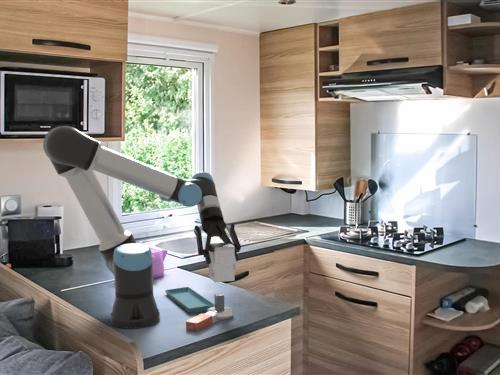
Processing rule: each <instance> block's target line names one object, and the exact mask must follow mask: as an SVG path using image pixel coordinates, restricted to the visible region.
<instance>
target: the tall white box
mask: <svg viewBox="0 0 500 375" xmlns="http://www.w3.org/2000/svg"><path fill="white" fill-rule="evenodd" d="M209 252H212V255H213V259H214V264H215V268H216V271H215V273H214V274H212V273H211V269H210V264H208V278H209V279H210V280H212V281H213V282H214V283H223V282H224V283H225V282H234V281H235V280H236V279H235V276H236V275H235V273H236V272H235V246H233V245H232V244H230V243H224V242H216V243H210V248H209Z"/></svg>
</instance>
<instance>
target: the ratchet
mask: <svg viewBox="0 0 500 375" xmlns="http://www.w3.org/2000/svg"><path fill="white" fill-rule="evenodd" d="M213 298H214V304H215V305H214V307H211V308H209V309H208V310H207V311H206V313H200V314H198V315H196V316H194V317H192V318H189V319H188V320H185V330H186V331H192V332H198V333H199V331H201V330H203V329H205V328H207V327H209V326H211V325H212V324H213V323H216V322H217V321H226V320H229V319H232V318H233V309H232V308H231V307H229V306H225V294H224V293H223V292H221V293H214V297H213Z"/></svg>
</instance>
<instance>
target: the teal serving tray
mask: <svg viewBox="0 0 500 375" xmlns="http://www.w3.org/2000/svg"><path fill="white" fill-rule="evenodd" d="M164 292H165V293H166V295H167V296H168V297H169V298H170V299H172V300H173V301H174V302H175V303H176V304H178V305H179V306H180V307H182V308H183V309H184V310H185V309H186V310H185V311H186V312H188V313H189V314H195V313H196V314H197V312H198V313H203V312H207V310H208V309H209V308H211V307H215V303H213V302H212V301H210V300H209V299H207V298H205V297H204V296H203V295H201V294H200V293H198V292H197V291H195V290H194V289H192V288H191V287H190V286H185V287H184V286H183V287H179V288H171V289H170V288H169V289H166V290H164Z"/></svg>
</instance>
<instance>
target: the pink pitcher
mask: <svg viewBox="0 0 500 375" xmlns="http://www.w3.org/2000/svg"><path fill="white" fill-rule="evenodd" d="M149 248H150V249H151V252H152V257H153V261H152V269H153V280H154V279H157V278H162V277H163V276H164V273H165V265H164V264H165V263H164V261H165V259H166V256H167V254H168V250H166V249H162V250H159V249H158V250H157V249H155V248H151V247H149Z"/></svg>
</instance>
